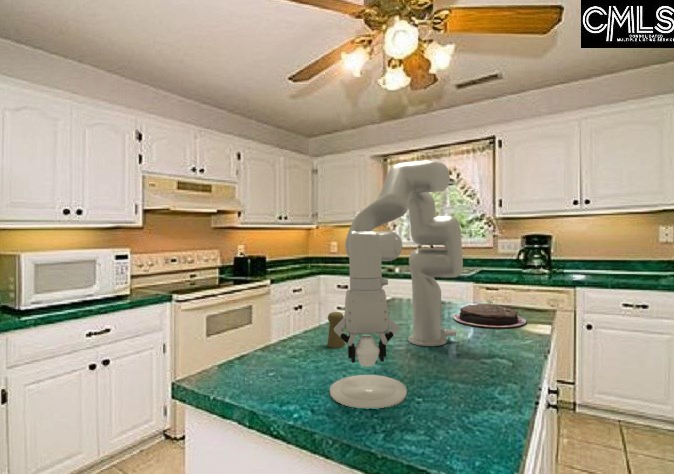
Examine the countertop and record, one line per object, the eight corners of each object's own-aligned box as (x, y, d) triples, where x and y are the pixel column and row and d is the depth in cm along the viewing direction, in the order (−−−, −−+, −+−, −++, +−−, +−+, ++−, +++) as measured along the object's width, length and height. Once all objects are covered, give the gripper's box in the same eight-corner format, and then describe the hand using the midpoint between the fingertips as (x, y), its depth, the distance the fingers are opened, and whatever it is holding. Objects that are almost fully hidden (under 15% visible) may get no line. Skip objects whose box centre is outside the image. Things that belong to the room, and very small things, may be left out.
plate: (397, 377, 106) (397, 372, 106) (415, 407, 88) (415, 402, 88) (328, 380, 105) (328, 375, 105) (332, 411, 87) (331, 406, 87)
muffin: (372, 370, 92) (372, 339, 92) (349, 366, 95) (348, 336, 95) (384, 362, 97) (384, 333, 97) (362, 358, 100) (361, 330, 100)
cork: (343, 348, 132) (342, 314, 132) (325, 347, 134) (324, 314, 133) (346, 343, 138) (346, 310, 138) (329, 342, 139) (328, 310, 139)
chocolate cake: (530, 318, 170) (530, 302, 170) (520, 333, 147) (520, 315, 146) (463, 312, 185) (463, 297, 185) (444, 325, 162) (444, 308, 161)
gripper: (398, 281, 100) (399, 354, 100) (328, 283, 99) (329, 357, 99) (405, 285, 93) (406, 364, 93) (329, 287, 91) (331, 367, 92)
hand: (367, 359), depth 96 cm, fingers closed on muffin, 6 cm apart
